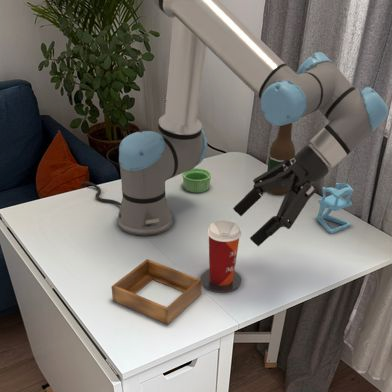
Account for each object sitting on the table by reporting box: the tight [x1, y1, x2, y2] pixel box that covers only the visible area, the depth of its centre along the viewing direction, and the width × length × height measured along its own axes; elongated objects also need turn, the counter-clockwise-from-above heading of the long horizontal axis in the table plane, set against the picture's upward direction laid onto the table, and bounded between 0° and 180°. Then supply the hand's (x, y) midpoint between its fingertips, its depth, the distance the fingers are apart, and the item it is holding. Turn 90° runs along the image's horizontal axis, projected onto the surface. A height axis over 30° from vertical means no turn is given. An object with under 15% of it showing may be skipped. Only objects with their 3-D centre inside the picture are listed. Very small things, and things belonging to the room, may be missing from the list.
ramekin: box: [181, 167, 212, 193], centre depth 160 cm, size 9×9×4 cm
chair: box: [316, 182, 354, 235], centre depth 142 cm, size 8×8×12 cm
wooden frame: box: [110, 258, 202, 325], centre depth 118 cm, size 16×14×4 cm
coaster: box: [199, 268, 242, 294], centre depth 124 cm, size 10×10×1 cm
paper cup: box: [206, 220, 242, 286], centre depth 119 cm, size 8×8×14 cm
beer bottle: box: [266, 123, 296, 196], centre depth 153 cm, size 8×8×24 cm
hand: (245, 226), depth 116 cm, fingers open, 13 cm apart
